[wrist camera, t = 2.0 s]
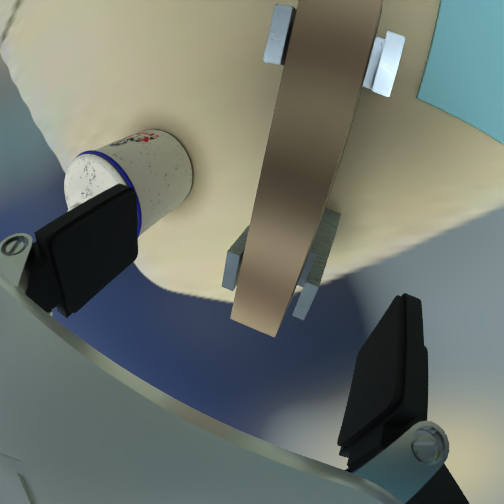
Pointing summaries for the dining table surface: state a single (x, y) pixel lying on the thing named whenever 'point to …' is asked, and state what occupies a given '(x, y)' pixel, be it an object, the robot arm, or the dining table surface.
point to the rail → (303, 151)
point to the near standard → (380, 61)
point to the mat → (468, 64)
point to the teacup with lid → (134, 174)
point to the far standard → (310, 270)
